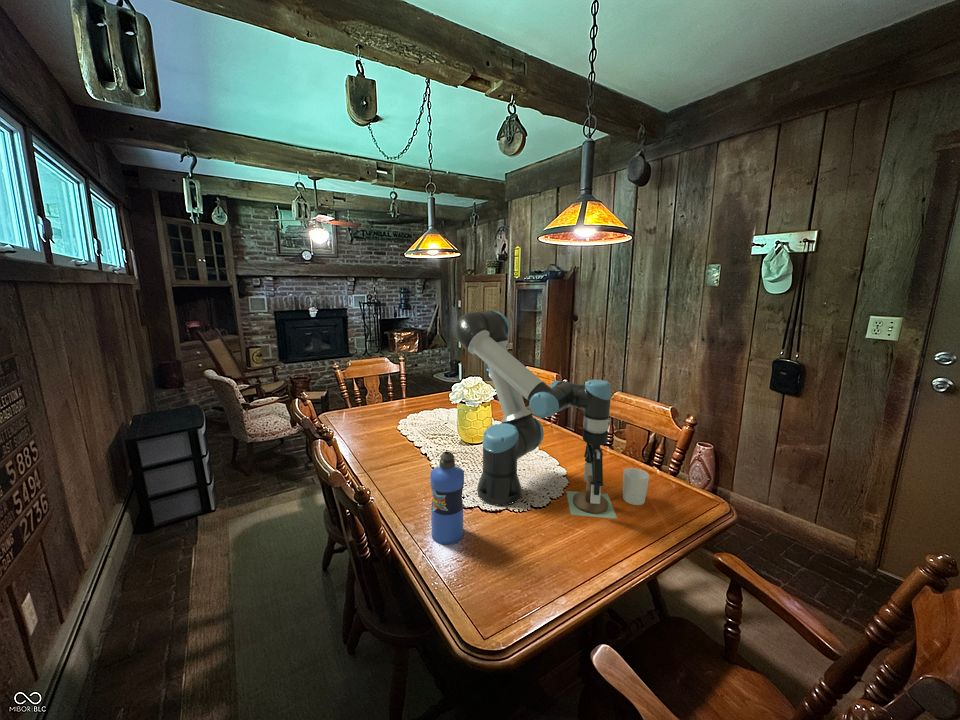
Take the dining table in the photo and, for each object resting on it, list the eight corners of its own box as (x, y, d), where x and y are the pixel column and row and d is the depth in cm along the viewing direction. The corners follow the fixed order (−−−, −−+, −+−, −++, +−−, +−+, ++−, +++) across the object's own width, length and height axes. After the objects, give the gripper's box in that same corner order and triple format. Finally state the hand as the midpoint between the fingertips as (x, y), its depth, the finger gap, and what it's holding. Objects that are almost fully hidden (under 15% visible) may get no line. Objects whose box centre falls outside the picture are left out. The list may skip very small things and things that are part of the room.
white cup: (619, 503, 123) (622, 475, 121) (622, 492, 130) (625, 465, 128) (645, 510, 120) (648, 481, 118) (647, 498, 127) (650, 471, 125)
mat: (570, 516, 116) (570, 514, 116) (566, 492, 130) (566, 490, 129) (617, 520, 114) (617, 518, 114) (607, 495, 128) (607, 494, 128)
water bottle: (447, 520, 113) (446, 442, 109) (470, 533, 107) (471, 451, 103) (424, 535, 106) (422, 453, 101) (447, 550, 100) (447, 463, 96)
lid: (574, 512, 117) (576, 485, 115) (571, 493, 128) (572, 468, 126) (611, 515, 116) (613, 488, 114) (604, 496, 126) (606, 471, 125)
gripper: (617, 446, 104) (611, 514, 108) (600, 416, 129) (596, 473, 133) (589, 444, 105) (585, 512, 109) (578, 415, 130) (574, 472, 134)
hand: (591, 491), depth 121 cm, fingers open, 13 cm apart
